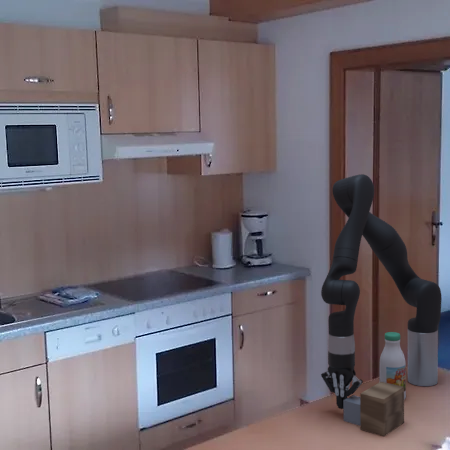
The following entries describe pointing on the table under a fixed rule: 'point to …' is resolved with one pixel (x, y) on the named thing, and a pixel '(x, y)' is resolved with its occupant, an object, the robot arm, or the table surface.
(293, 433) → the table surface
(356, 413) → the pale blue brick
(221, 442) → the table surface
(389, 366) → the milk bottle
